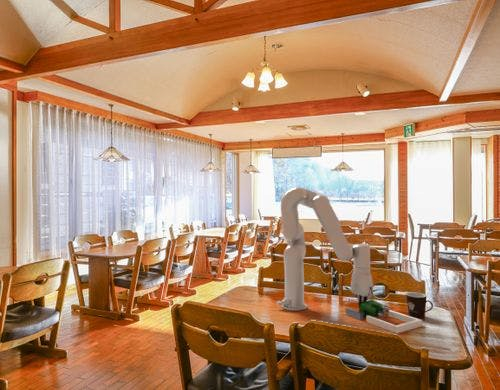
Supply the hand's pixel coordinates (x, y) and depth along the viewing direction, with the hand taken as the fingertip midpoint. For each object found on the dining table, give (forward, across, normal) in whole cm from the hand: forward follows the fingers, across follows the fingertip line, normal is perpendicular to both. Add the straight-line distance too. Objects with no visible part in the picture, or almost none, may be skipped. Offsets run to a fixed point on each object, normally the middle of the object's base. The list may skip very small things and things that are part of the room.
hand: (362, 309), depth 173 cm
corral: (+2, +17, -1) cm, 17 cm away
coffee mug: (+2, +19, +15) cm, 24 cm away
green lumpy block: (+2, +5, 0) cm, 5 cm away
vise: (+2, +2, +2) cm, 4 cm away
